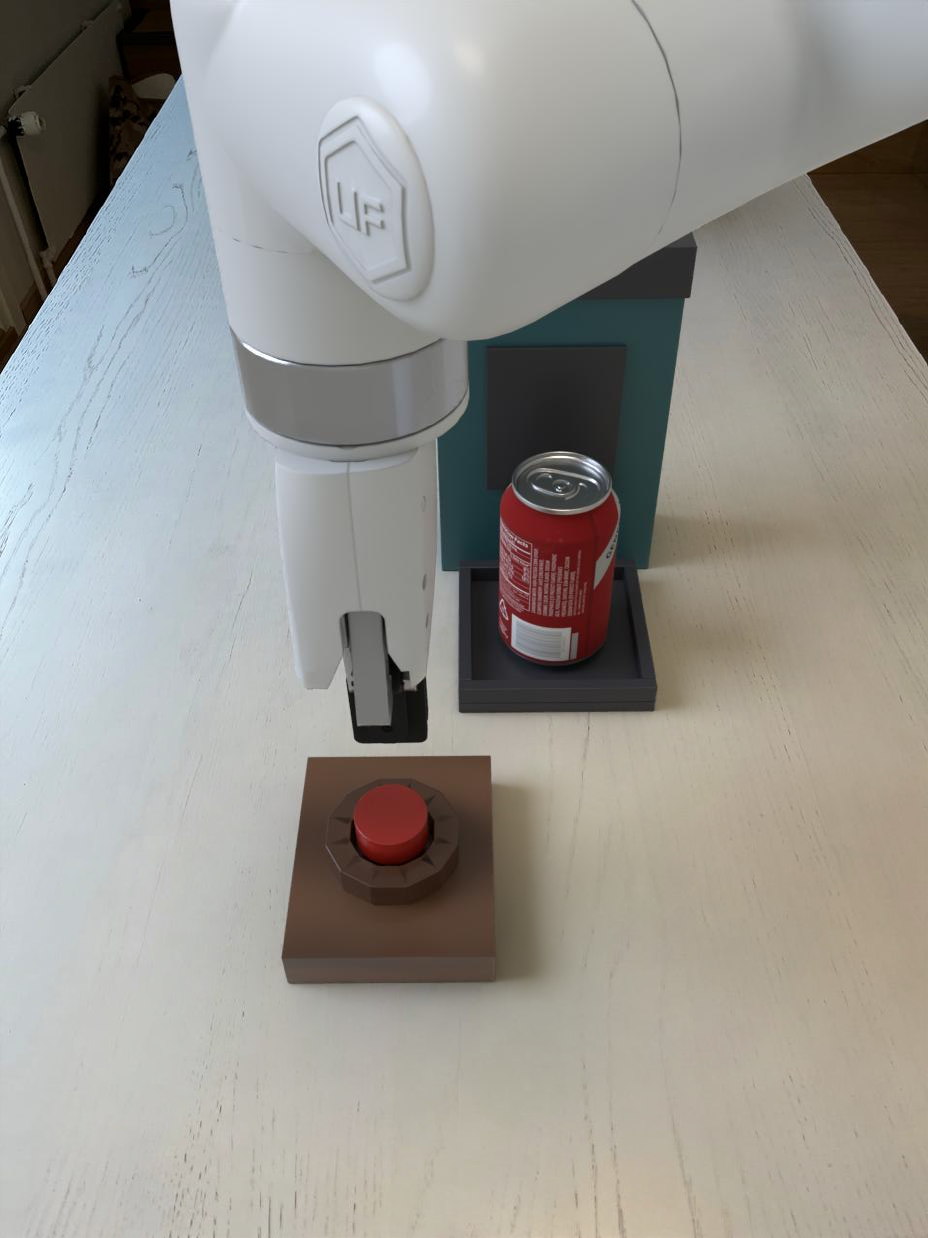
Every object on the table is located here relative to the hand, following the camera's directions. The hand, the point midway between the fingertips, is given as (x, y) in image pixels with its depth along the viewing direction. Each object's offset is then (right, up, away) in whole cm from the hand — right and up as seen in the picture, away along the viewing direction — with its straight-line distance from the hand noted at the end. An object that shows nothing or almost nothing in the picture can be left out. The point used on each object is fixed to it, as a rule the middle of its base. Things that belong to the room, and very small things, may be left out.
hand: (392, 729), depth 48 cm
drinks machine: (+9, +10, +28) cm, 31 cm away
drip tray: (+9, +3, +21) cm, 23 cm away
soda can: (+9, +4, +20) cm, 22 cm away
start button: (0, -6, +6) cm, 9 cm away
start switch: (0, -8, +9) cm, 12 cm away
